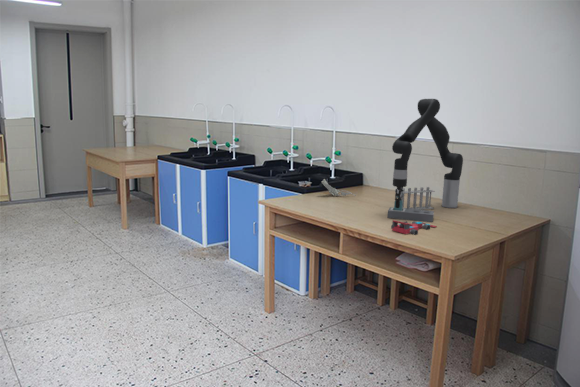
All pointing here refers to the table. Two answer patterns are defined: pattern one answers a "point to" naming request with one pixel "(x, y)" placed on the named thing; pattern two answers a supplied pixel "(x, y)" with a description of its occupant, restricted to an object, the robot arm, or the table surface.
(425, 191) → the test tube rack
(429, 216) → the power strip
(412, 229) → the race car
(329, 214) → the table surface
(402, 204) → the block
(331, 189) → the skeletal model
